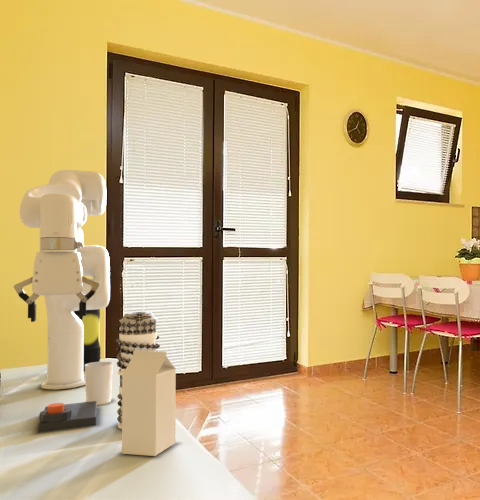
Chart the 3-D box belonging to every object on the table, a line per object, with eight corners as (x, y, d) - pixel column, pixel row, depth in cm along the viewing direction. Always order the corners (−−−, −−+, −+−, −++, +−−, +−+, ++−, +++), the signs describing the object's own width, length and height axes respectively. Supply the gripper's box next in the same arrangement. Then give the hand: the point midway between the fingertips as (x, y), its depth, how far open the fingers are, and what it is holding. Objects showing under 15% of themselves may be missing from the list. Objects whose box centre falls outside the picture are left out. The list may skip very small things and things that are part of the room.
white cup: (92, 399, 137) (93, 361, 137) (117, 399, 137) (117, 361, 137) (79, 405, 130) (79, 366, 131) (104, 405, 130) (105, 366, 130)
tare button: (48, 411, 115) (48, 403, 115) (64, 409, 116) (64, 402, 116) (46, 415, 112) (47, 407, 112) (63, 413, 113) (63, 405, 113)
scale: (45, 414, 123) (45, 399, 123) (96, 408, 128) (96, 394, 128) (38, 433, 110) (38, 416, 110) (95, 425, 114) (96, 409, 115)
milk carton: (155, 457, 96) (155, 354, 96) (121, 454, 97) (122, 353, 98) (175, 443, 103) (175, 348, 103) (143, 441, 104) (144, 347, 104)
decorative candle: (116, 420, 118) (116, 311, 119) (159, 415, 122) (159, 310, 122) (114, 432, 110) (114, 315, 110) (160, 427, 113) (160, 313, 114)
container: (60, 368, 177) (60, 281, 177) (92, 364, 185) (92, 280, 186) (73, 373, 170) (73, 282, 170) (106, 367, 178) (106, 281, 179)
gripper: (99, 248, 127) (99, 317, 126) (17, 247, 120) (16, 321, 119) (99, 246, 120) (99, 319, 119) (12, 245, 113) (10, 323, 112)
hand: (57, 320), depth 119 cm, fingers open, 9 cm apart
